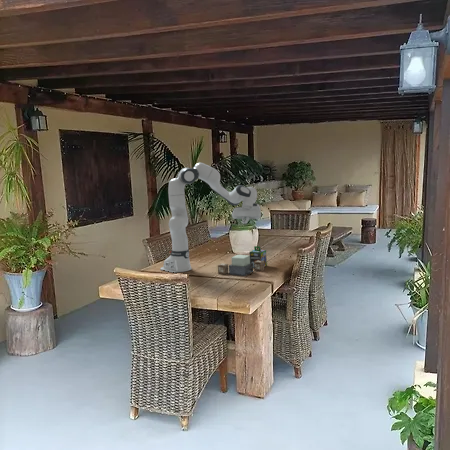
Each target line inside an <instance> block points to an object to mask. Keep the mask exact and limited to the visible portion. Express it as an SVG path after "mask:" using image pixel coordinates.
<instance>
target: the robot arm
mask: <svg viewBox="0 0 450 450" xmlns="http://www.w3.org/2000/svg"><path fill="white" fill-rule="evenodd" d="M197 179H199V180H201V181H203V182H205V183H206V184H208V185H209V187H210V188H211V190H213V192H215V193H216V194H217V195H219V196H220V197H222V198H223V199H224V200H225V201H226V202H227V203H228V204H229V205H231V206H234V208H233V211H232V214H231V217H232V219H233V220H242V221H241V223H242V224H244V225H247V224H248V222H249V221H250V220H259V219H261V217H262V216H261V215H262V212H261V207H260V204H258V203H256V202H257V198H258V190H257V189H256V188H255V187H254V186H245V185H243V184H238V185H236V186H235V188H234V189H233V190H231V191H228V190H227V189H226V188H225V187H223V186H222V185H221V183H220V182H221V174H220V172H219V171H218V170H217V169H216V168H215V167H212V166H211V165H208V164H206V163H204V162H198V163H196V164H195V165H194V166H193V167H183V168H181V169H180V170H179V171H178V173H177V176H176V177H175V178H172V179H170V180H169V182H168V187H167V189H168V193H167V194H168V204H169V208H170V209H169V210H170V212H171V217H170V219H169V221H168V229H169V233H170V237H171V245H172V246H171V248H172V249H171V250H170V251H169V252H168V253H170V255H169V256H168V257H167V258H166V259H164V261H163V266H161V267H160V269H159V270H160V271H163V270H165V272H168V271H169V273H173V272H174V273H183V272H188V271H191V270H192V266H191V261H190V249H189V239H188V235H187V230H186V229H187V227H188V225H189V217H188V212H187V211H188V210H187V206H186V196H185V193H186V192H185V187H186V185H191V184H193V183H194V182H196V181H197ZM241 202H242V204H241V206H238V205H239V204H240V203H241ZM235 206H236V207H235ZM174 273H173V274H174Z"/></svg>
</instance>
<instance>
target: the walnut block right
mask: <svg viewBox="0 0 450 450" xmlns="http://www.w3.org/2000/svg"><path fill="white" fill-rule="evenodd" d="M262 270H263V271H264V270H265V267H264V261H256V262H254V268H253V272H263V271H262Z"/></svg>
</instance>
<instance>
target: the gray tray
mask: <svg viewBox="0 0 450 450" xmlns="http://www.w3.org/2000/svg"><path fill="white" fill-rule="evenodd" d="M251 272H252V273H253V272H254V268H253V263H250V264H248V265H246V266H233V265H232V263H230V264H228V275H231V276H242V277H246V276H248V275H250V274H252V273H251Z"/></svg>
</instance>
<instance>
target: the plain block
mask: <svg viewBox="0 0 450 450" xmlns="http://www.w3.org/2000/svg"><path fill="white" fill-rule="evenodd" d="M230 259H231V264H232V265H233V266H246V265H248V264H250V254H249V255H247V254H246V255H245V254H236V255H234V256H232V257H231V258H230Z"/></svg>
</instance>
